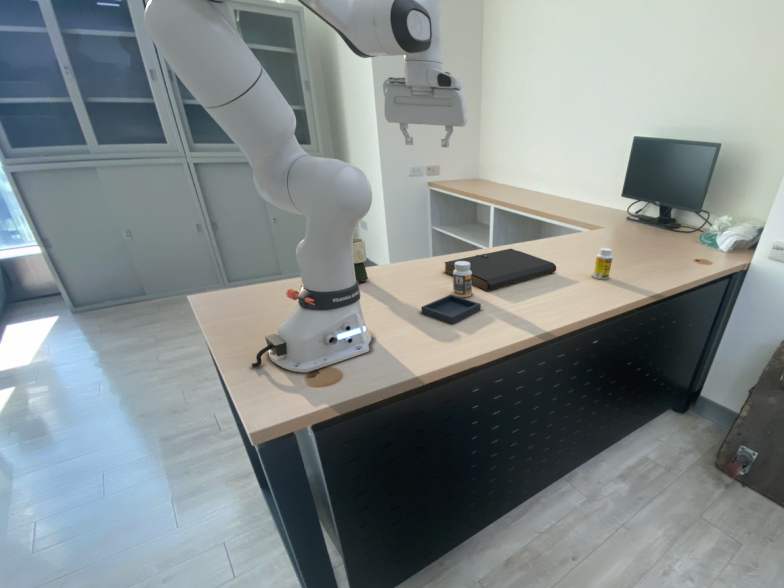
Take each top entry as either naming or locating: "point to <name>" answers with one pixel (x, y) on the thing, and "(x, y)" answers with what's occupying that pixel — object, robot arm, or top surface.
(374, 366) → the top surface
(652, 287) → the top surface
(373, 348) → the top surface
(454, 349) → the top surface
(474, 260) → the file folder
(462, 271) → the pill bottle
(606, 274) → the supplement bottle
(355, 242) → the character mug
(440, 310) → the tray
